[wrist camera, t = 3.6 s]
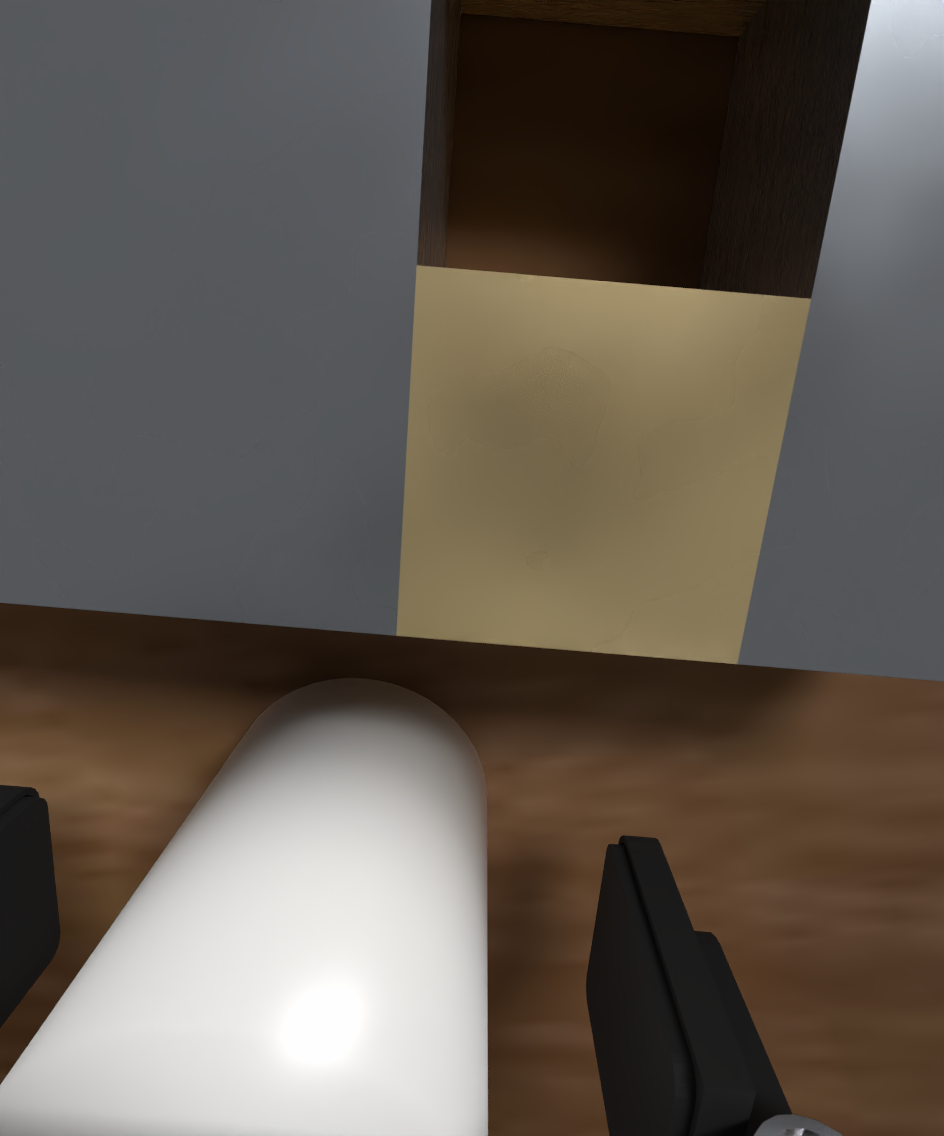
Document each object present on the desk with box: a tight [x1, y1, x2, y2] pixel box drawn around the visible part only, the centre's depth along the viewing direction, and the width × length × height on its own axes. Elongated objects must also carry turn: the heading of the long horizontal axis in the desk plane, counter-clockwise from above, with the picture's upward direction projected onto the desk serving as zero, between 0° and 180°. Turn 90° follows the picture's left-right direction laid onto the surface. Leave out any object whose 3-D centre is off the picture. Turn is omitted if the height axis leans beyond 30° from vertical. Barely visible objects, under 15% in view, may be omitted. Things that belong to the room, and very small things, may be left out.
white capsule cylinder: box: [0, 678, 488, 1136], centre depth 10 cm, size 5×5×7 cm
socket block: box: [0, 0, 944, 681], centre depth 8 cm, size 12×24×4 cm, turn 85°
